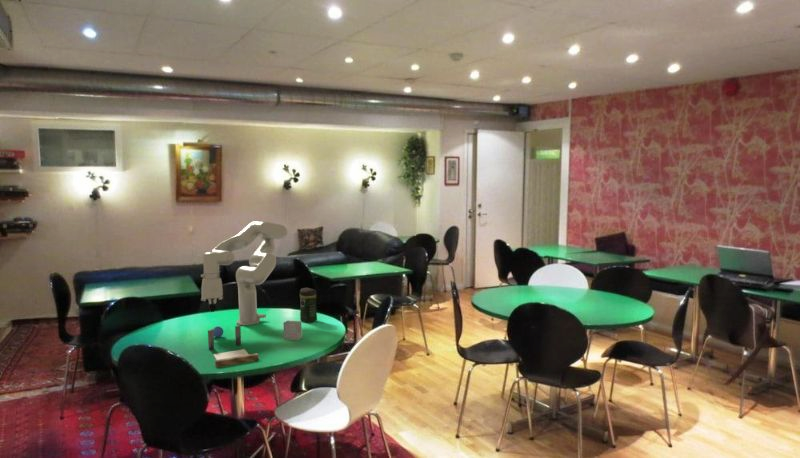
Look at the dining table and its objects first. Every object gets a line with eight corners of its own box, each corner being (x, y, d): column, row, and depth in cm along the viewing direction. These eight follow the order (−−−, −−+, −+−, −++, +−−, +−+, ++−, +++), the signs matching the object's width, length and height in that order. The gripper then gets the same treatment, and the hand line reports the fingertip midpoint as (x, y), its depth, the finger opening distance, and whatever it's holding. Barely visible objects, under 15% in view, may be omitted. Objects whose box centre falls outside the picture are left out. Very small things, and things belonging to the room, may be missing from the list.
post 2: (240, 343, 265) (239, 325, 264) (241, 345, 263) (241, 326, 262) (235, 344, 264) (234, 326, 263) (236, 345, 262) (235, 327, 261)
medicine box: (302, 338, 273) (301, 321, 272) (297, 340, 269) (297, 323, 268) (288, 336, 276) (287, 320, 275) (283, 339, 271) (283, 322, 271)
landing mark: (244, 349, 256) (244, 349, 256) (251, 358, 244) (251, 357, 244) (213, 354, 249) (213, 354, 249) (219, 363, 237) (219, 363, 237)
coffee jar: (319, 321, 304) (318, 288, 302) (307, 324, 299) (306, 290, 297) (310, 318, 311) (309, 285, 310) (298, 320, 306) (297, 287, 305)
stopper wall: (257, 358, 243) (257, 353, 243) (258, 360, 241) (258, 354, 241) (215, 365, 234) (215, 360, 234) (216, 367, 233) (215, 361, 232)
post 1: (213, 347, 259) (212, 329, 258) (214, 349, 257) (213, 330, 256) (208, 348, 258) (207, 330, 257) (209, 350, 256) (208, 331, 255)
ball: (222, 335, 280) (222, 324, 279) (224, 337, 275) (224, 327, 275) (211, 336, 277) (210, 326, 277) (213, 339, 272) (212, 328, 272)
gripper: (197, 278, 274) (198, 314, 276) (228, 276, 282) (228, 311, 283) (195, 276, 281) (195, 311, 282) (225, 273, 288) (225, 308, 290)
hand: (212, 311), depth 283 cm, fingers closed
